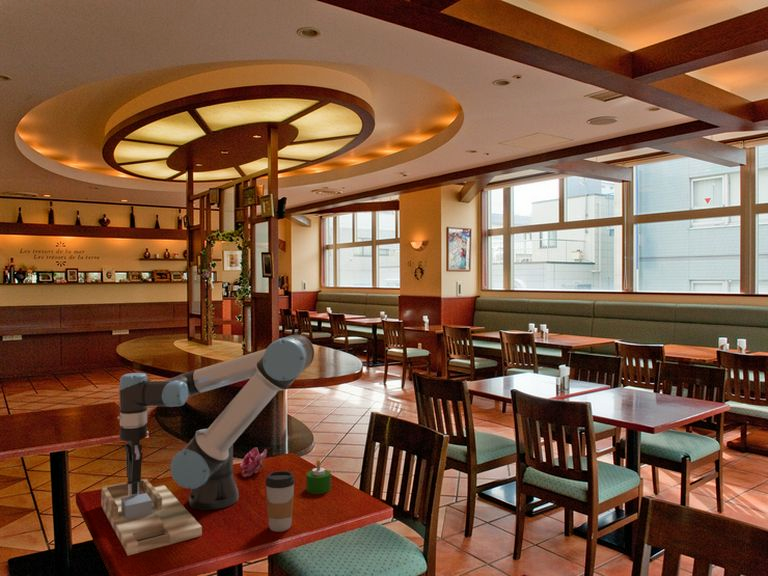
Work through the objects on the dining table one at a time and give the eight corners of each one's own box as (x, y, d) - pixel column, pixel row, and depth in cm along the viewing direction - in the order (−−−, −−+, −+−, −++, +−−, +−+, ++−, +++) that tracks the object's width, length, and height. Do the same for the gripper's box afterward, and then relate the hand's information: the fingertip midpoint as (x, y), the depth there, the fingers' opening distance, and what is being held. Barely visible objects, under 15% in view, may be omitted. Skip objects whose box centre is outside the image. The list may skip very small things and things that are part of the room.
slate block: (121, 511, 162) (121, 498, 162) (146, 506, 166) (146, 492, 166) (125, 519, 157) (125, 505, 157) (151, 513, 161) (151, 500, 161)
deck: (101, 506, 172) (101, 487, 172) (164, 492, 184) (164, 474, 184) (127, 555, 141) (127, 532, 141) (201, 535, 152) (201, 514, 152)
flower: (243, 487, 198) (229, 463, 199) (254, 479, 207) (240, 457, 209) (269, 470, 197) (254, 446, 198) (278, 463, 206) (264, 440, 208)
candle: (335, 488, 188) (335, 459, 188) (320, 495, 181) (320, 465, 181) (316, 483, 193) (316, 455, 192) (301, 490, 186) (301, 461, 185)
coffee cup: (267, 521, 162) (267, 470, 161) (295, 520, 162) (295, 469, 162) (263, 534, 153) (263, 480, 153) (293, 533, 154) (293, 479, 154)
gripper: (115, 422, 168) (116, 499, 168) (123, 432, 157) (124, 513, 157) (142, 419, 172) (142, 493, 172) (151, 428, 162) (151, 507, 162)
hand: (133, 503), depth 165 cm, fingers closed
